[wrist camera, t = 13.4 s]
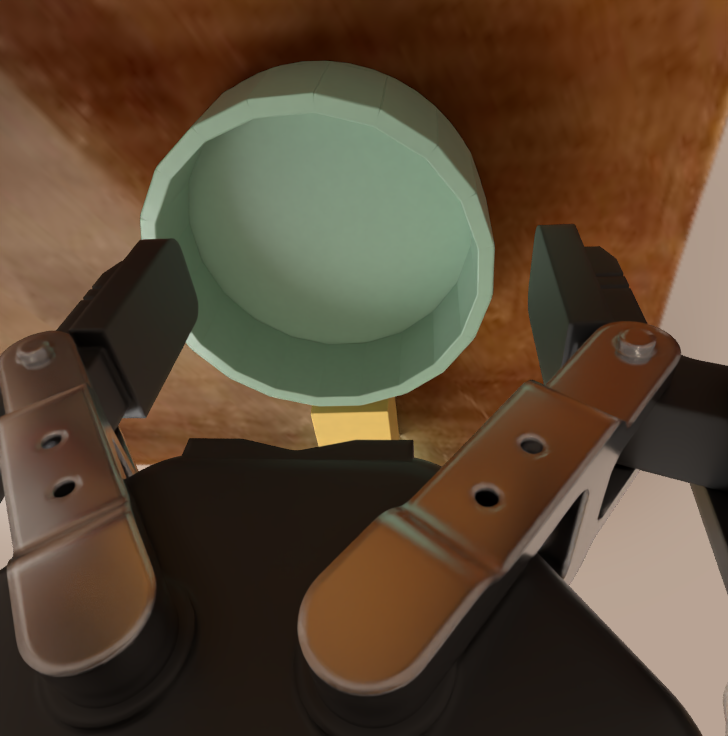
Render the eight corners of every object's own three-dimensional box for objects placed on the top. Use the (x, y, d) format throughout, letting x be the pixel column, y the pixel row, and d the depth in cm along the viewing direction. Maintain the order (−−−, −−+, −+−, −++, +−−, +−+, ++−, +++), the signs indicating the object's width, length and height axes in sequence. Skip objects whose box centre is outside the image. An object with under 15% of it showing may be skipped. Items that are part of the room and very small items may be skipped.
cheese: (335, 438, 39) (328, 485, 36) (320, 367, 35) (310, 413, 32) (399, 437, 39) (397, 484, 36) (391, 364, 35) (388, 411, 32)
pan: (225, 351, 35) (201, 409, 31) (131, 79, 25) (79, 115, 21) (481, 342, 33) (489, 402, 29) (489, 41, 23) (501, 73, 19)
